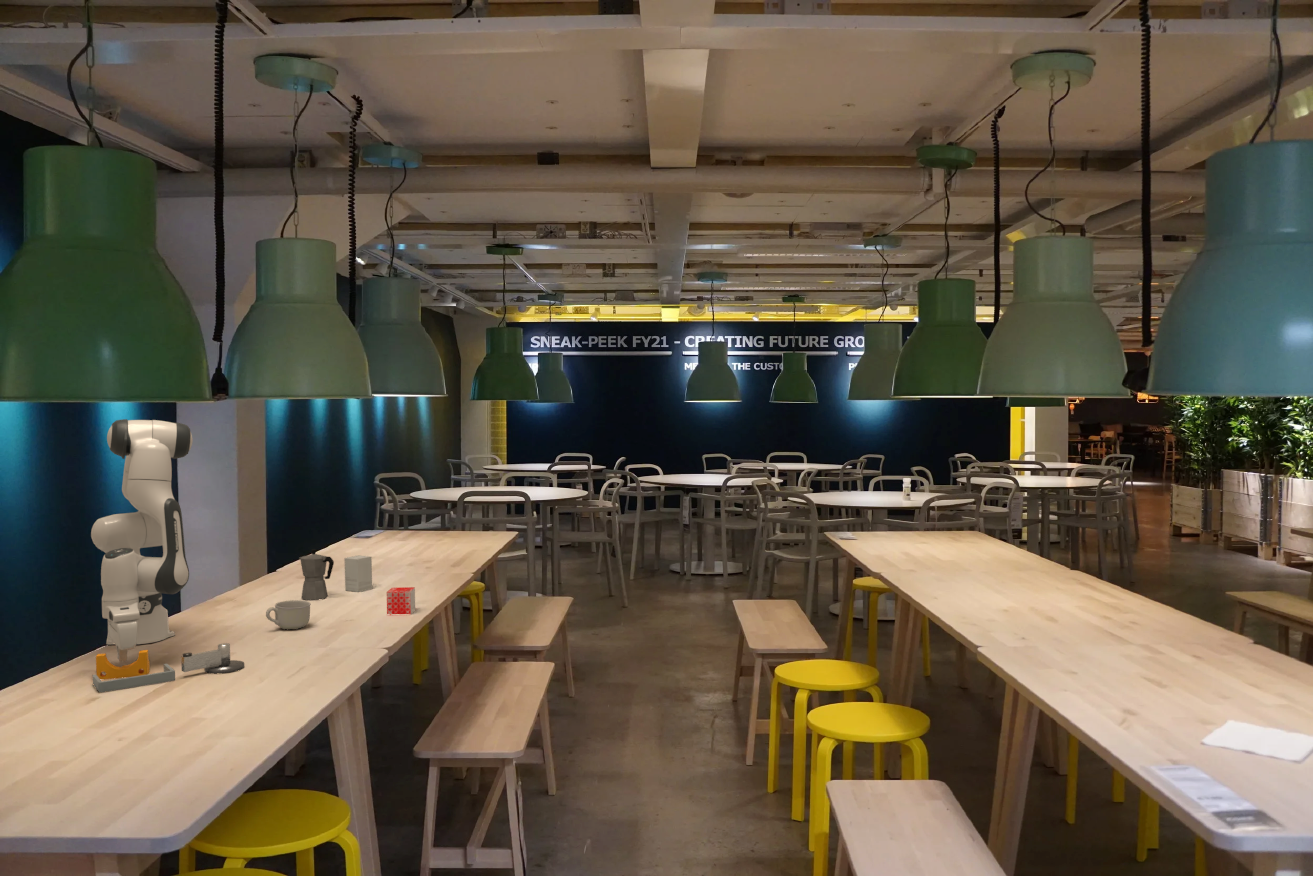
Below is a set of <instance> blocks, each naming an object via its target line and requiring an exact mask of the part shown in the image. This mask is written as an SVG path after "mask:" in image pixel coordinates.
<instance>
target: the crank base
mask: <svg viewBox="0 0 1313 876" xmlns="http://www.w3.org/2000/svg"><path fill="white" fill-rule="evenodd" d="M244 668H245V662H244V661H242V660H236V659H232V660H231V659H230V665H226V666H219V665H218V666H213V667H208V668H203V669H204V672H205V673H206V672H207V674H211V673H214V675H218V674H217V673H222V674H230V673H235V672H239V671H241V670H243V669H244ZM238 670H239V671H238Z"/></svg>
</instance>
